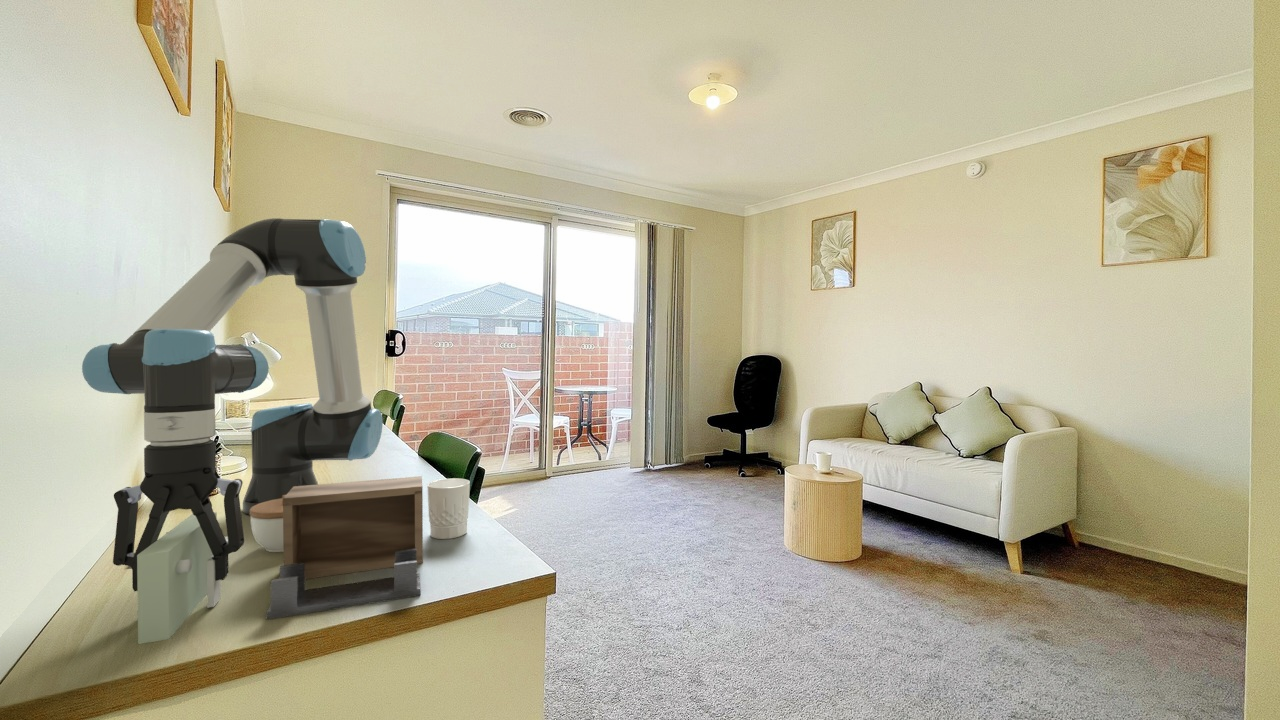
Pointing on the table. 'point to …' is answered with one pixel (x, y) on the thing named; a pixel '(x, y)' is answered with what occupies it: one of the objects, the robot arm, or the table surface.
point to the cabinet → (352, 525)
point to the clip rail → (341, 589)
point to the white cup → (448, 507)
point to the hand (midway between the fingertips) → (182, 607)
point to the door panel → (171, 580)
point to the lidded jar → (268, 524)
